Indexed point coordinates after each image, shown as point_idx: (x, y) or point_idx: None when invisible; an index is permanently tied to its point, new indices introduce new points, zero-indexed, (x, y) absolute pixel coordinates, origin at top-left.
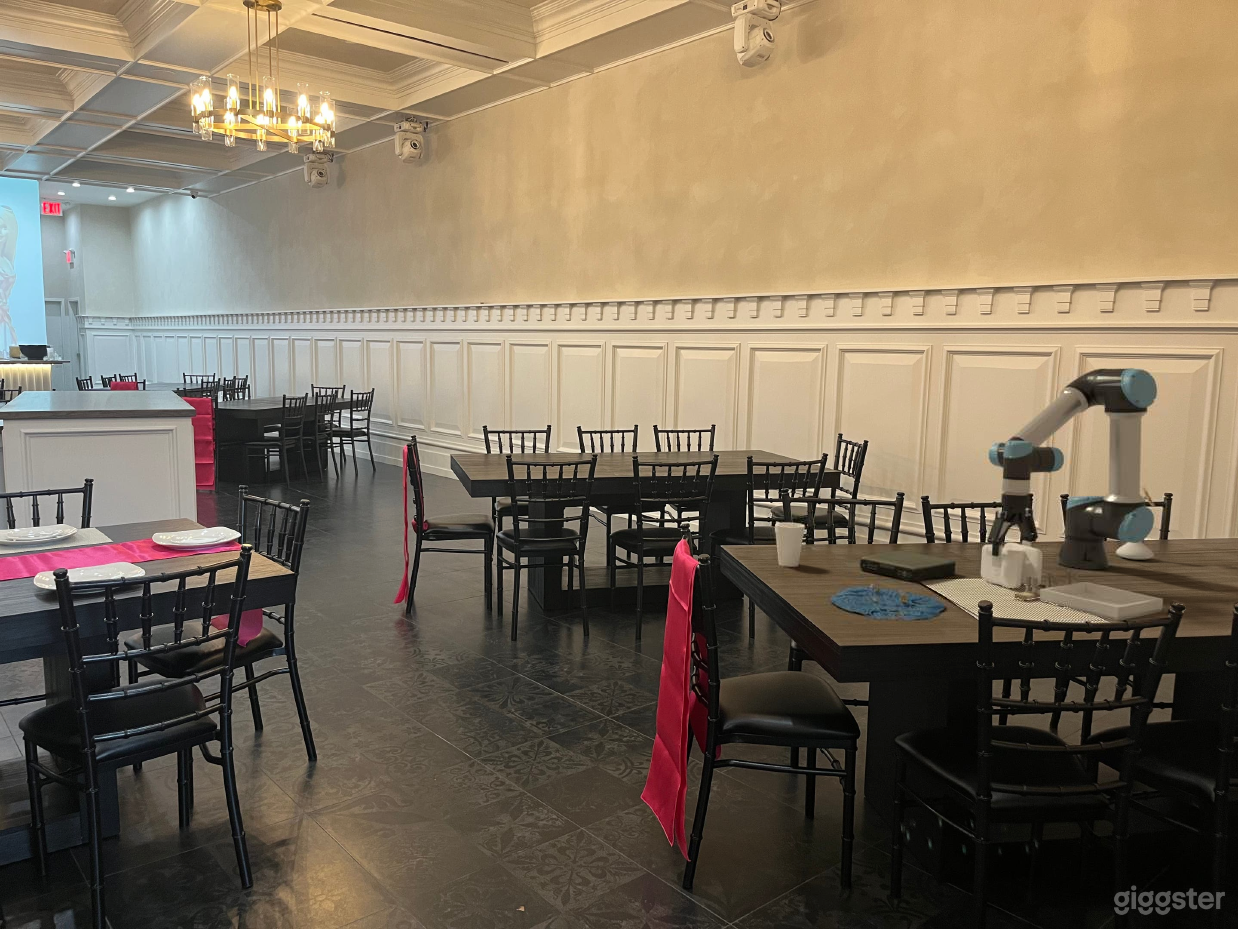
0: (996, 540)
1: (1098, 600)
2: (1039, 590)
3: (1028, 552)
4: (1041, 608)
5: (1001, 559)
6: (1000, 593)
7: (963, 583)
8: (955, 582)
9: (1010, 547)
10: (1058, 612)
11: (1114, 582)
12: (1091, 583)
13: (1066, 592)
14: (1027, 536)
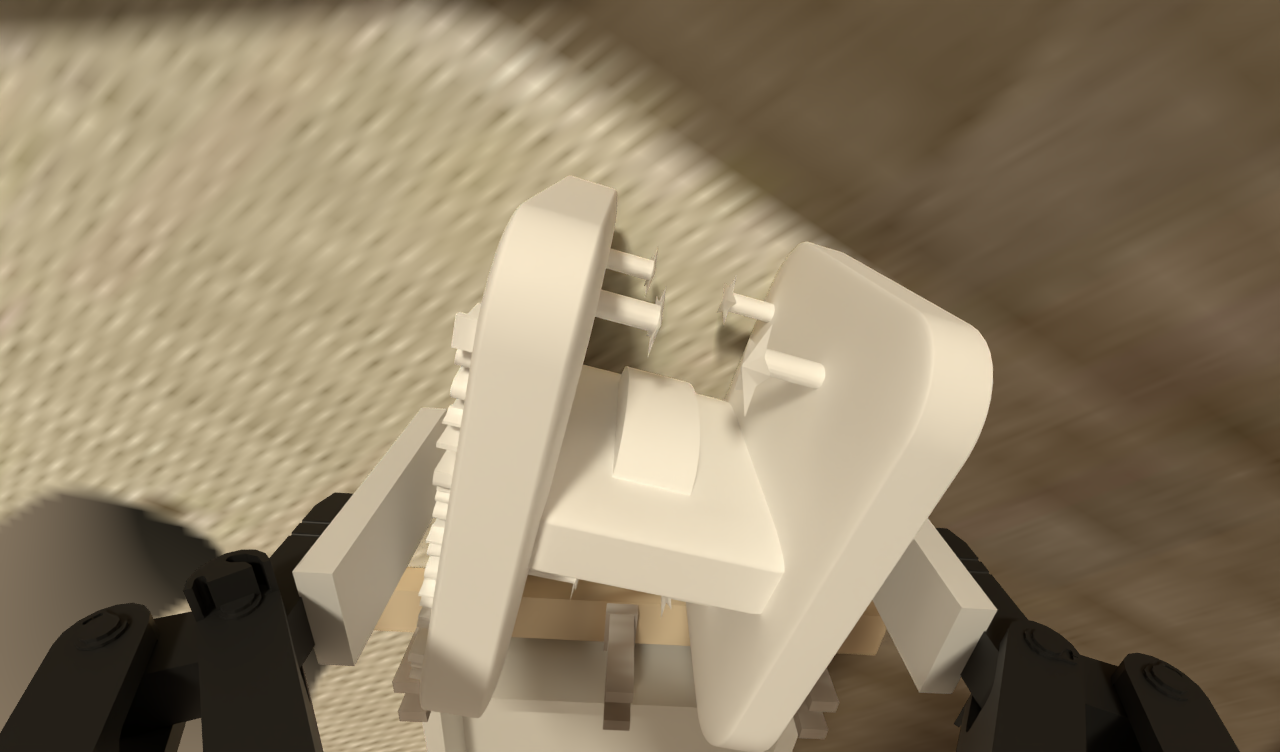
0: (152, 745)
1: (654, 748)
2: (541, 606)
3: (734, 648)
4: (345, 683)
5: (421, 530)
6: None
7: (355, 160)
8: (313, 94)
9: (854, 436)
10: (363, 730)
11: (1195, 611)
12: (789, 737)
13: None
14: (968, 746)
